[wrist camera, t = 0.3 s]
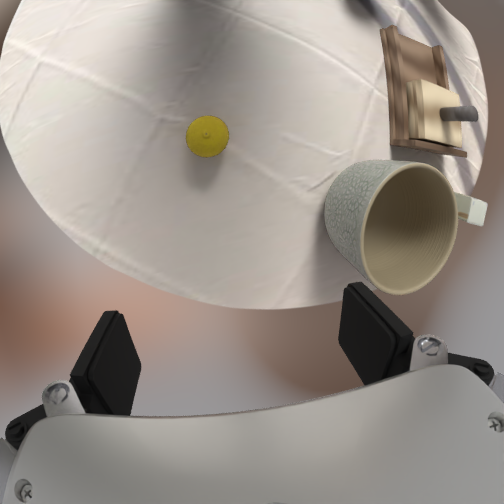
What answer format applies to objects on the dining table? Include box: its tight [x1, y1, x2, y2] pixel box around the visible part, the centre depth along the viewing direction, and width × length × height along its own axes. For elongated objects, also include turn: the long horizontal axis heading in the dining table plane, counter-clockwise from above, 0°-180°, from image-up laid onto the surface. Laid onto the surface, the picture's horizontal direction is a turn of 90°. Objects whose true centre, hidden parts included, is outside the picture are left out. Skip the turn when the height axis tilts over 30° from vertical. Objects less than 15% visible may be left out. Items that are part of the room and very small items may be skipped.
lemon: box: [186, 116, 229, 157], centre depth 32 cm, size 6×6×8 cm
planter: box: [324, 160, 458, 295], centre depth 36 cm, size 17×17×15 cm
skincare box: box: [454, 192, 487, 226], centre depth 38 cm, size 6×4×12 cm
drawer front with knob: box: [406, 79, 478, 148], centre depth 31 cm, size 10×10×13 cm
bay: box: [380, 25, 467, 158], centre depth 33 cm, size 23×14×7 cm, turn 1°
